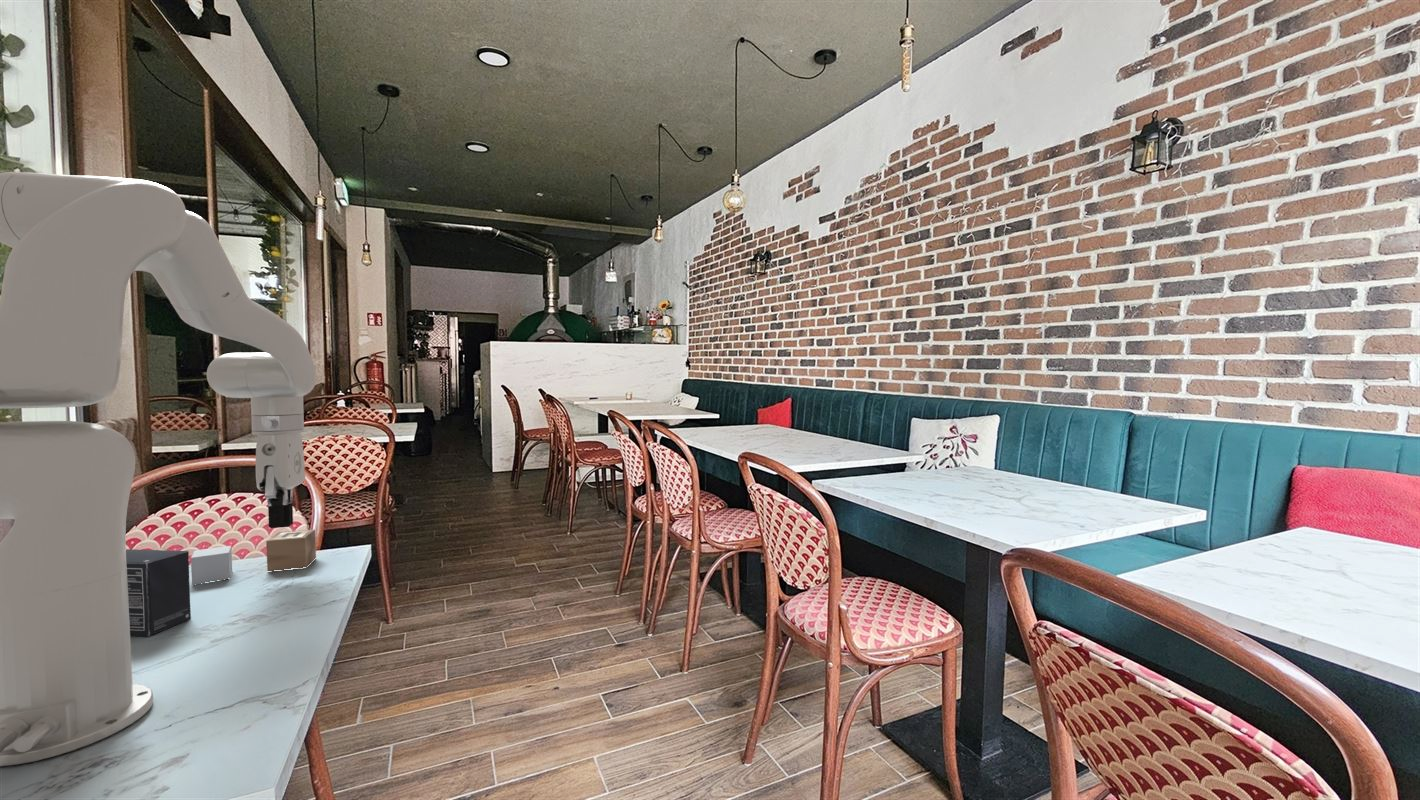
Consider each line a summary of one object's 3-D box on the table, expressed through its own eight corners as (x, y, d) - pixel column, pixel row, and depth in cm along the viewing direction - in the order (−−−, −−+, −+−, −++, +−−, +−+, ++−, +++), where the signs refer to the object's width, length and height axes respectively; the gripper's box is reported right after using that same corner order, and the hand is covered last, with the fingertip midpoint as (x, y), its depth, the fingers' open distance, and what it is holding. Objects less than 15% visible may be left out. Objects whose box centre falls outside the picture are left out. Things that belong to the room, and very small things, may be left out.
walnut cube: (315, 529, 113) (316, 559, 113) (278, 532, 111) (279, 563, 112) (304, 537, 108) (306, 569, 108) (266, 540, 106) (267, 573, 106)
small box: (195, 618, 86) (192, 549, 86) (149, 638, 80) (145, 563, 79) (131, 615, 87) (128, 546, 87) (81, 634, 81) (77, 560, 80)
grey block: (229, 580, 102) (228, 552, 102) (192, 586, 99) (190, 557, 99) (232, 572, 106) (231, 545, 106) (196, 578, 103) (195, 550, 103)
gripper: (289, 427, 98) (291, 534, 99) (315, 421, 112) (317, 515, 113) (234, 428, 95) (238, 539, 96) (268, 422, 109) (271, 519, 110)
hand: (281, 526), depth 104 cm, fingers closed
